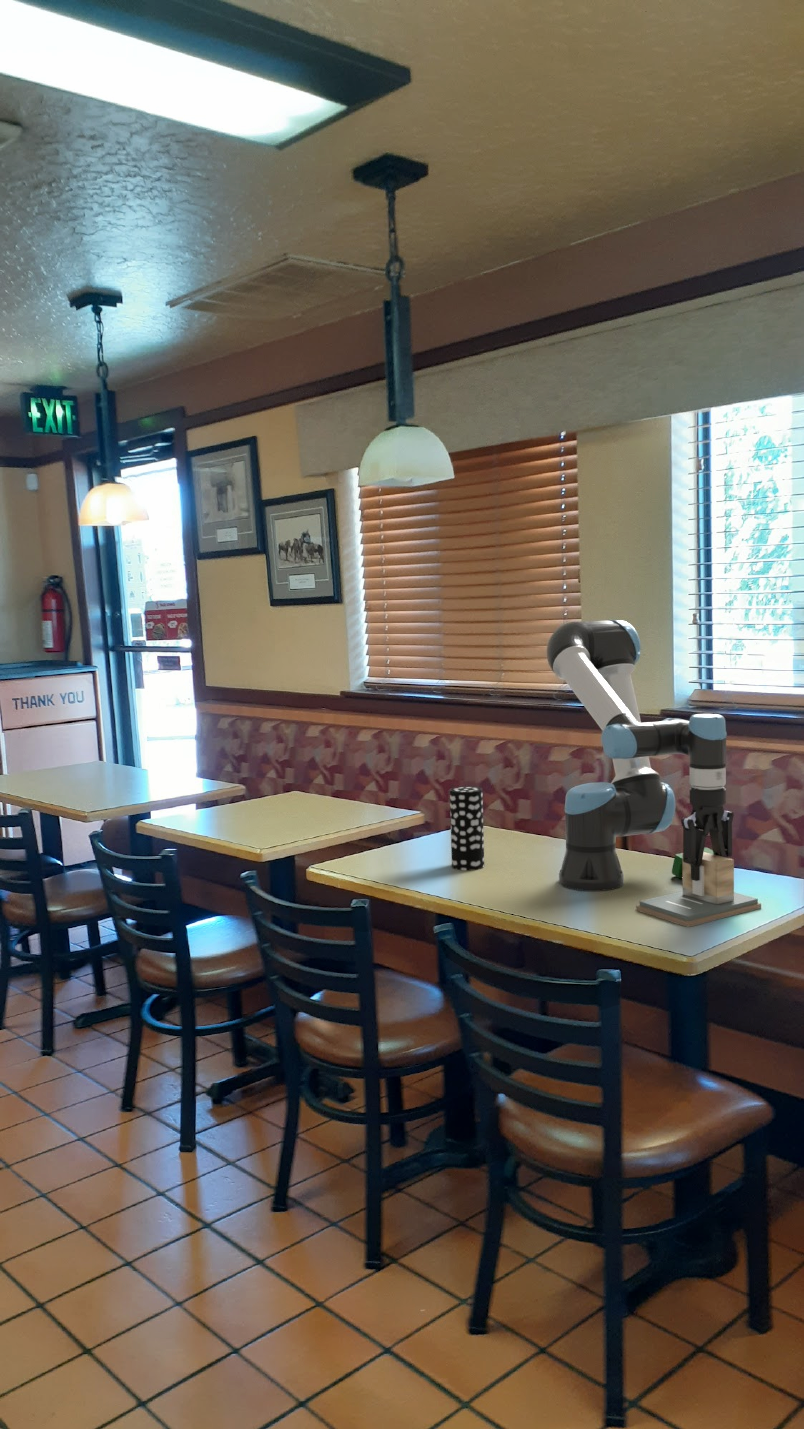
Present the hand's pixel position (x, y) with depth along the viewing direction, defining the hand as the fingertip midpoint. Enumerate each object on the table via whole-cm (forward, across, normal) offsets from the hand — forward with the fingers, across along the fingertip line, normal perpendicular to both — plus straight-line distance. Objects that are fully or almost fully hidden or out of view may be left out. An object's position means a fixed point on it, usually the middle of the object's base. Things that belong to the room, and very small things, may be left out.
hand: (707, 892), depth 232 cm
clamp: (+4, +17, +19) cm, 26 cm away
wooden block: (+1, 0, 0) cm, 1 cm away
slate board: (+3, -3, 0) cm, 4 cm away
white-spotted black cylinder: (+3, -22, +61) cm, 65 cm away
